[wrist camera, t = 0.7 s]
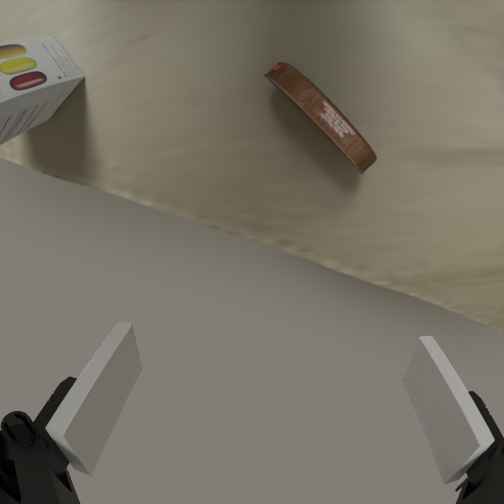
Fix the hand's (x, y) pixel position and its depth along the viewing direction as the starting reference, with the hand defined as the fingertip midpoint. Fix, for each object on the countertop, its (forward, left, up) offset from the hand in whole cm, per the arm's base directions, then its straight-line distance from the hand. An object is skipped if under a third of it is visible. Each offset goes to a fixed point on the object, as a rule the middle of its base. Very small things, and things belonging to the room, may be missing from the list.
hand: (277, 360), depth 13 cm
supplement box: (+8, -32, -29) cm, 44 cm away
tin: (-7, +1, -29) cm, 30 cm away
